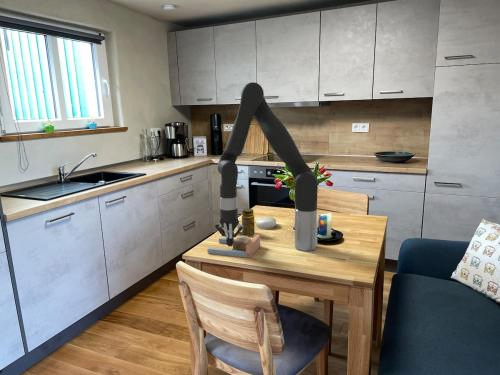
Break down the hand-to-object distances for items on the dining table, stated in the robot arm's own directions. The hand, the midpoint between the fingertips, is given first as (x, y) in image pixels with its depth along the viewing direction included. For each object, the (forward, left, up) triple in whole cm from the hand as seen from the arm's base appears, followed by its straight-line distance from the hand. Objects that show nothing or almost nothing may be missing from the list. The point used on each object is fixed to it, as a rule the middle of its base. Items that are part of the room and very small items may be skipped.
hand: (230, 245), depth 161 cm
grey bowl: (-7, -34, -2) cm, 35 cm away
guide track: (-2, 0, -2) cm, 2 cm away
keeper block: (-5, -1, -2) cm, 5 cm away
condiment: (-1, -20, -2) cm, 20 cm away
